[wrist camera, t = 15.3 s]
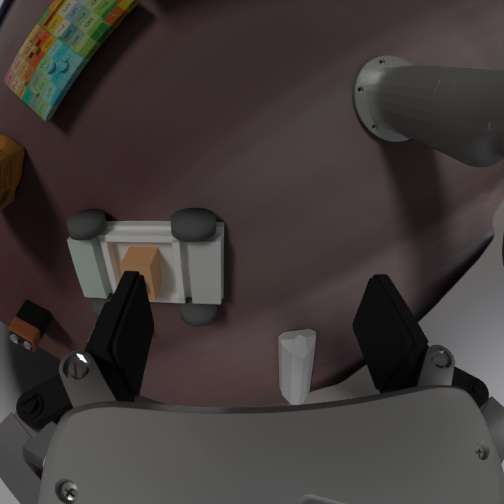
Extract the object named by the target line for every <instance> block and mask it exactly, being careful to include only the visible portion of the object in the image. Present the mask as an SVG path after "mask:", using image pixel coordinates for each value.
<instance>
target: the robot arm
mask: <svg viewBox="0 0 504 504" xmlns="http://www.w3.org/2000/svg"><path fill="white" fill-rule="evenodd" d="M380 62H381V63H380ZM358 88H359V89H360V90H359V91H358ZM352 93H353V103H354V108H355V110H356V113H357V116H358V117H359V119H360V121H361V122H362V124H363V125H364V126H365V127H366V128H367V130H369V131H370V132H371V133H372V134H374V135H375V136H377V137H379V138H381V139H384V140H386V141H391V142H402V141H407V140H409V139H413V140H415V141H417V142H420V143H422V144H424V145H427V146H429V147H431V148H433V149H436V150H438V151H440V152H442V153H444V154H446V155H448V156H450V157H452V158H454V159H456V160H458V161H460V162H462V163H464V164H467V165H469V166H473V167H489V166H492V165H495V164H497V163H499V162H501V161H502V160H504V71H496V70H483V69H473V68H461V67H446V66H414V65H412V64H411V63H409V62H408V61H406V60H404V59H402V58H400V57H396V56H379V57H376V58H373V59H371V60H369V61H368V62H366V63H365V64H364V65H363V66H362V67H361V68H360V70H359V71H358V73H357V74H356V77H355V80H354V83H353V90H352ZM372 125H373V128H372ZM502 255H503V256H502V257H503V265H504V235H503V247H502ZM153 331H154V320H153V316H152V312H151V307H150V303H149V298H148V293H147V288H146V283H145V278H144V275H140V273H139V271H124V273H123V275H122V277H121V279H120V281H119V283H118V286H117V288H116V290H115V292H114V294H113V296H112V299H111V301H110V302H108V301H107V302H106V303H105V304H104V306H103V308H102V310H101V313H100V315H99V317H98V319H97V322H96V324H95V326H94V329H93V331H92V334H91V336H90V338H89V341H88V343H87V346H86V348H85V351H74V352H71V353H69V354H68V355H66V356H65V357H64V358H63V359H62V361H61V363H60V366H59V372H60V373H59V374H57V375H55V376H54V377H52V378H50V379H48V380H46V381H45V382H43V383H41V384H39V385H38V386H36V387H34V388H32V389H30V390H28V391H26V392H25V393H23V394H22V395H21V396H20V398H19V399H18V402H17V406H16V410H17V411H16V413H14V414H13V413H12V412H11V413H10V414H9V415H8V416H7V417H6V418H5V419H4V420H3V422H2V423H1V424H0V477H1V479H2V480H3V482H4V483H5V484H6V486H7V487H8V488H9V490H10V491H11V492H12V494H13V495H14V496H15V497H16V499H17V500H18V501H19V502H20V504H504V472H503V469H502V465H501V463H502V462H503V460H504V407H503V406H502V405H501V404H500V403H499V402H498V401H496V400H495V399H494V398H493V397H490V398H489V392H488V389H487V387H486V385H485V384H484V382H482V381H481V380H480V379H478V378H476V377H474V376H472V375H470V374H468V373H466V372H464V371H462V370H461V369H458V368H457V367H455V366H454V365H455V361H454V357H453V355H452V354H451V352H450V351H449V350H448V349H447V348H445V347H443V346H440V345H433V346H430V347H429V346H428V345H427V343H428V340H427V338H426V336H425V335H424V333H423V331H422V329H421V328H420V326H419V324H418V323H417V321H416V319H415V318H414V316H413V314H412V313H411V311H410V309H409V308H408V306H407V304H406V303H405V301H404V300H403V298H402V296H401V295H400V293H399V292H398V290H397V289H396V287H395V286H394V284H393V283H392V281H391V279H390V278H389V276H388V275H386V274H378V275H374V276H373V277H372V278H370V279H369V281H368V284H367V287H366V290H365V292H364V295H363V298H362V300H361V303H360V306H359V308H358V311H357V313H356V316H355V318H354V321H353V331H354V333H355V335H356V338H357V341H358V343H359V346H360V348H361V351H362V353H363V356H364V358H365V361H366V364H367V366H368V369H369V372H370V374H371V377H372V380H373V382H374V385H375V387H376V389H378V390H379V391H380V394H376V395H371V396H365V397H359V398H353V399H346V400H339V401H331V402H322V403H313V404H304V405H290V406H273V407H237V408H229V407H194V406H176V405H162V404H151V403H138V402H134V399H135V396H139V394H140V389H141V384H142V379H143V375H144V370H145V365H146V361H147V357H148V352H149V348H150V344H151V339H152V335H153ZM45 456H46V459H45V463H44V468H43V460H44V458H45Z"/></svg>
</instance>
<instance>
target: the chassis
mask: <svg viewBox="0 0 504 504" xmlns="http://www.w3.org/2000/svg"><path fill="white" fill-rule="evenodd" d="M67 227H68V231H69V235H70V237H69V238H68V239H67V242H68V246H69V249H70V253H71V256H72V259H73V263H74V266H75V269H76V272H77V276H78V279H79V282H80V285H81V288H82V290H83V293H84V296H85V297H92V299H91V306H92V309H93V311H94V314H95V316H96V317H97V318H98V317H99V315H100V313H101V310H102V308H103V306H104V304H105V303H106V302H107V301H108V302H110V301H111V299H112V296H113V294H114V292H115V290H116V288H117V286H118V283H119V281H120V279H121V277H122V275H121V271H120V267H119V265H120V263H121V262H122V260H123V258H124V256H125V254H126V252H127V250H128V249H129V247H158V253H159V261H160V268H161V275H162V282H161V285H160V289H159V292H158V295H157V299H156V301H149V302H166V303H180V313H181V318H182V320H183V321H184V322H185V323H187V324H188V325H191V326H196V327H201V326H206V325H208V324H210V323H212V322H213V321H214V320H215V319H216V317H217V304H221V298H223V293H224V222H216V215H215V214H214V213H213V212H212V211H210V210H207V209H202V208H188V209H183V210H180V211H177V212H175V213H174V214H173V215H172V216H171V218H170V221H106V218H105V213H104V211H103V210H100V209H88V210H84V211H81V212H78V213H76V214H74V215H72V216H71V217H70V218H69V219H68V220H67Z"/></svg>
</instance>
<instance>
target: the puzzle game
mask: <svg viewBox="0 0 504 504" xmlns="http://www.w3.org/2000/svg"><path fill="white" fill-rule="evenodd" d="M140 1H141V0H54V2H53V3H52V4H51V5H50V7H49V8H48V9H47V11H46V12H45V13H44V15H43V16H42V17H41V19H40V20H39V22H38V23H37V24H36V26H35V27H34V29H33V30H32V32H31V33H30V35H29V36H28V38H27V39H26V41H25V43H24V44H23V46H22V47H21V49H20V51H19V52H18V54H17V56H16V58H15V59H14V61H13V63H12V65H11V67H10V68H9V70H8V72H7V74H6V76H5V78H4V81H3V83H4V84H5V85H6V86H7V87H8V88H9V89H10V90H11V91H13V92H14V93H15V94H16V95H17V96H18V97H19V98H20V99H21V100H22V101H23V102H24V103H25V104H26V105H28V106H29V107H30V108H31V109H32V110H33V111H34V112H35V113H36V114H37V115H39V116H40V117H41V118H42V119H43V120H44V121H49V120H50V119H51V118H52V116H53V115H54V113H55V111H56V110H57V108H58V106H59V105H60V103H61V101H62V100H63V98H64V97H65V95H66V93H67V92H68V90H69V89H70V87H71V86H72V84H73V83H74V81H75V80H76V78H77V77H78V75H79V74H80V72H81V71H82V70H83V68H84V67H85V65H86V64H87V63H88V61H89V60H90V59H91V57H92V56H93V55H94V54H95V52H96V51H97V50H98V48H99V47H100V46H101V45H102V44H103V42H104V41H105V40H106V39H107V38H108V36H109V35H110V34H111V33H112V32H113V31H114V29H115V28H116V27H117V26H118V25H119V24H120V23H121V22H122V21H123V19H124V18H125V17H126V16H127V14H128V13H129V12H130V11H131V10H132V9H133V8H134V7H135V6H136V5H137V4H138V3H139V2H140Z"/></svg>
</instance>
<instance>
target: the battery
mask: <svg viewBox="0 0 504 504" xmlns="http://www.w3.org/2000/svg"><path fill="white" fill-rule="evenodd" d="M49 323H50V315H49V311H47V310H45V309H43V308H41V307H39V306H37V305H36V304H34V303H32V302H30V301H28V300H26V301H25V302H24V304H23V305H22V307H21V308H20V310H19V311H18V313H17V314H16V316H15V318H14V319H13V321H12V322H11V324H10V326H9V331H10V339H11V340H12V341H13V342H14V343H20V344H21V345H23V346H24V347H25V348H27V349H30V350H32V351H35V350H36V349H37V347H38V345H39V343H40V341H41V339H42V337H43V335H44V333H45V331H46V329H47V327H48V325H49Z"/></svg>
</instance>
